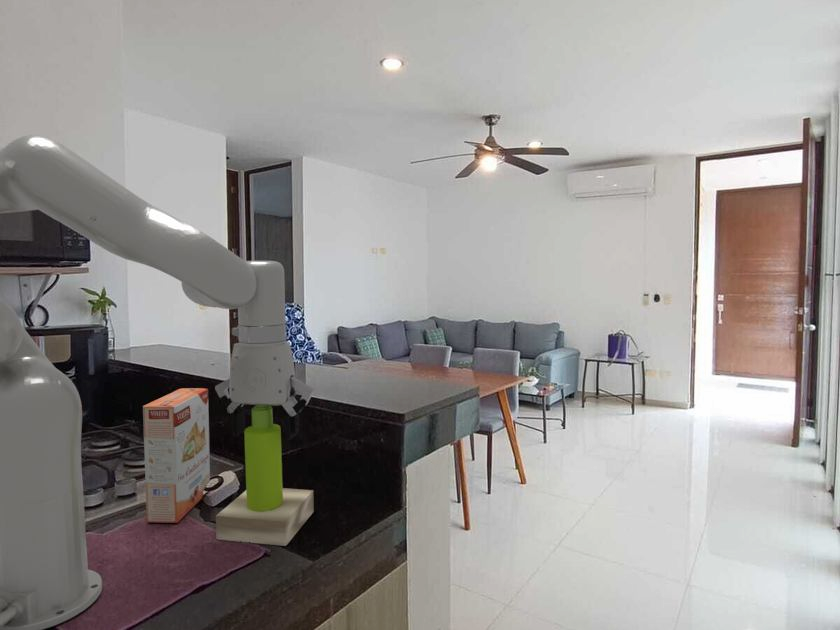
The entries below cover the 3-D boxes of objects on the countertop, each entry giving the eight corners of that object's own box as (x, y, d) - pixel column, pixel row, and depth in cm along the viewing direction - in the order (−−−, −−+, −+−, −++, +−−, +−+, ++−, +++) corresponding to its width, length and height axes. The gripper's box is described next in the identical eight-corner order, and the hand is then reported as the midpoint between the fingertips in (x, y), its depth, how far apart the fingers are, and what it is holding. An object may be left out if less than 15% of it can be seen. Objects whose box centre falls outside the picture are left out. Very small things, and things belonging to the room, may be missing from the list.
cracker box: (180, 524, 91) (174, 405, 89) (145, 524, 91) (139, 405, 89) (213, 490, 105) (209, 386, 103) (183, 490, 105) (178, 386, 103)
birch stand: (285, 545, 84) (285, 521, 84) (216, 539, 86) (215, 515, 86) (313, 511, 96) (313, 490, 95) (252, 506, 98) (251, 485, 98)
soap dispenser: (293, 504, 90) (290, 388, 88) (252, 514, 86) (247, 393, 84) (282, 492, 95) (279, 382, 93) (243, 501, 91) (239, 387, 89)
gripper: (201, 336, 86) (205, 439, 87) (303, 339, 83) (305, 445, 84) (226, 331, 93) (229, 426, 95) (320, 333, 90) (321, 431, 92)
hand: (265, 435), depth 90 cm, fingers open, 9 cm apart
